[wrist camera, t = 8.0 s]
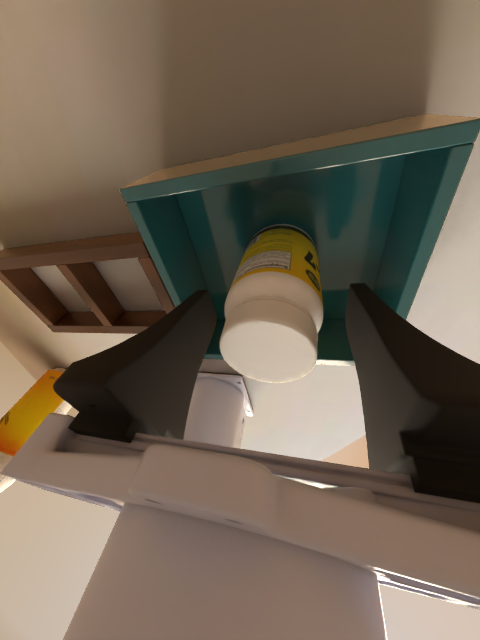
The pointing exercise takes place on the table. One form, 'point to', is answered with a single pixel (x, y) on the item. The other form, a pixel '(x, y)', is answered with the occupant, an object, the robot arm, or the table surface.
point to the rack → (82, 283)
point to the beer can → (28, 418)
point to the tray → (311, 214)
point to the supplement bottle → (274, 307)
